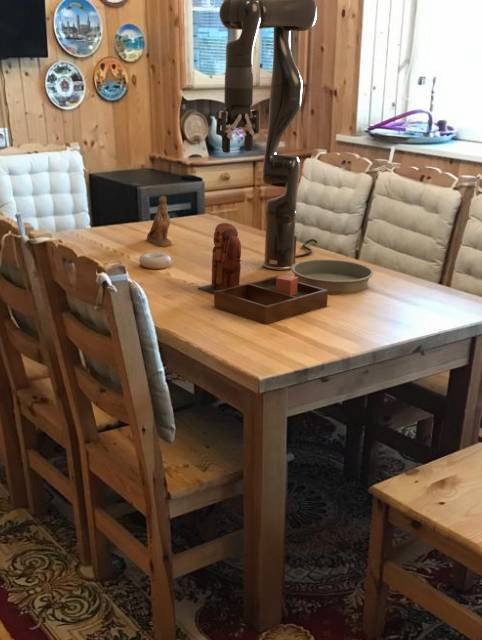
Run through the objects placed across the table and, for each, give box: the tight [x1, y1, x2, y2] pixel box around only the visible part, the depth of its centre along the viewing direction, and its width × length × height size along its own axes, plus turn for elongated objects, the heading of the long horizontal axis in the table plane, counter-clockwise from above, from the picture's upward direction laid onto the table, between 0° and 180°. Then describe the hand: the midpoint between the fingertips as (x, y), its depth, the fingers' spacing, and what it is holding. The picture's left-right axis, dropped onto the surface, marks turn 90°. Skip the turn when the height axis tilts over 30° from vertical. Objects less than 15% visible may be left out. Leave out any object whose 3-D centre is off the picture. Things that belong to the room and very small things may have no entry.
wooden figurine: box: [211, 222, 242, 290], centre depth 231 cm, size 12×6×18 cm, turn 31°
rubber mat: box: [197, 283, 217, 295], centre depth 235 cm, size 11×11×1 cm
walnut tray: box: [213, 275, 329, 325], centre depth 221 cm, size 25×19×4 cm
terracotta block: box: [276, 274, 298, 296], centre depth 224 cm, size 4×4×4 cm
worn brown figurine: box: [146, 194, 172, 247], centre depth 279 cm, size 12×6×18 cm, turn 26°
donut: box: [138, 252, 172, 270], centre depth 255 cm, size 10×3×10 cm
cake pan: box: [290, 259, 374, 295], centre depth 244 cm, size 25×25×4 cm
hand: (237, 151), depth 225 cm, fingers open, 8 cm apart
